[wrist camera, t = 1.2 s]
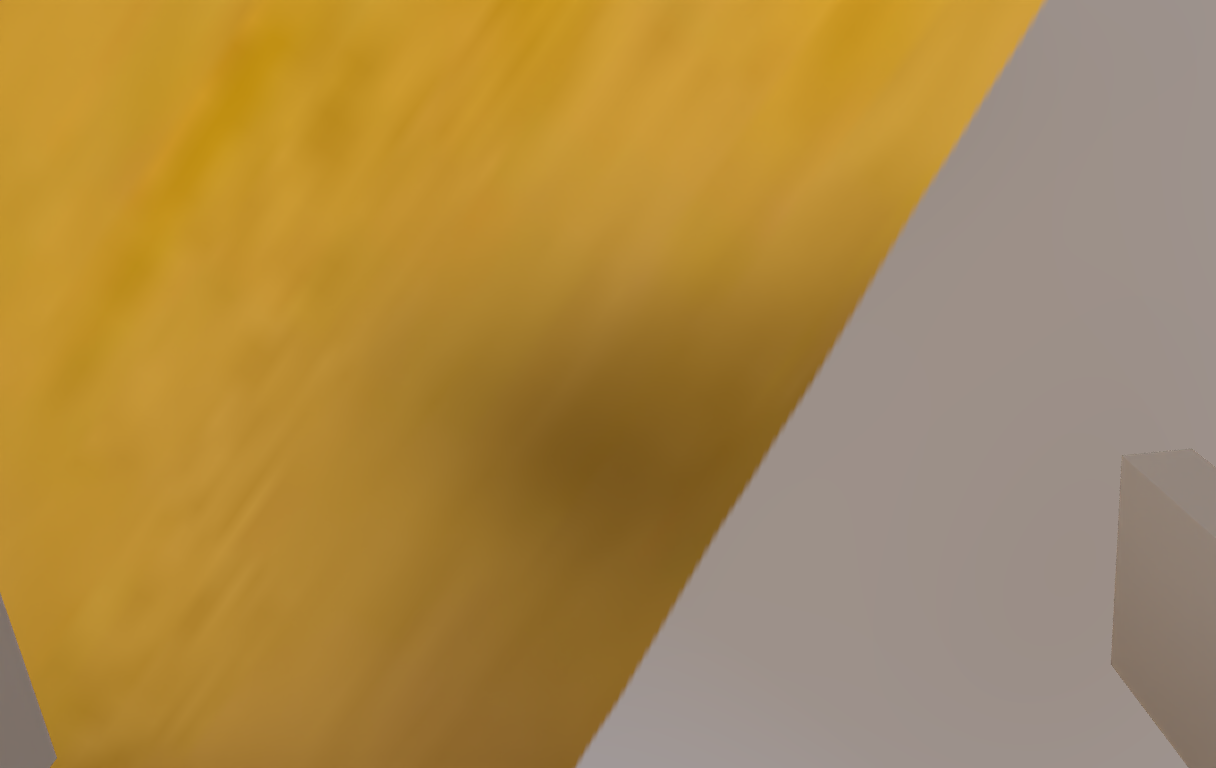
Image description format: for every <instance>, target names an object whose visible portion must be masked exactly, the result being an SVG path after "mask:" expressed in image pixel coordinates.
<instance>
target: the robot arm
mask: <svg viewBox="0 0 1216 768" xmlns="http://www.w3.org/2000/svg"><path fill="white" fill-rule="evenodd" d="M1111 665H1112V666H1113V668H1114V669H1115V670H1116V672H1117V673H1118V674H1119V676H1120V677H1121V678H1122V680H1123V681H1124V682H1125V684H1126V685H1127V686H1128V688H1129V689H1130V690H1131V692H1132V693H1133V694H1134V696H1135V697H1136V698H1137V700H1138V701H1139V702H1140V703H1141V705H1142V706H1143V708H1144V709H1145V710H1146V712H1147V713H1148V714H1149V716H1150V717H1151V718H1152V720H1153V721H1154V722H1155V724H1156V725H1157V726H1158V728H1159V729H1160V730H1161V732H1162V733H1163V734H1164V735H1165V737H1166V738H1167V739H1168V741H1169V742H1170V743H1171V745H1172V746H1173V747H1174V749H1175V750H1176V751H1177V753H1178V754H1179V755H1180V757H1181V758H1182V759H1183V761H1184V762H1185V763H1186V765H1187V766H1188V767H1189V768H1216V467H1215V466H1213V465H1212V464H1211V463H1209V462H1208V461H1207V460H1206V459H1204V458H1203V457H1202V456H1200V455H1199V454H1198V453H1196V452H1195V451H1194V450H1193V449H1184V450H1174V451H1163V452H1152V453H1143V454H1132V455H1122V466H1121V485H1120V502H1119V521H1118V540H1117V559H1116V578H1115V598H1114V617H1113V635H1112V655H1111ZM56 758H57V757H56V754H55V751H54V748H53V745H52V742H51V740H50V737H49V734H48V731H47V728H46V725H45V722H44V719H43V716H42V713H41V710H40V708H39V705H38V702H37V699H36V696H35V693H34V690H33V687H32V684H31V681H30V678H29V676H28V673H27V670H26V667H25V664H24V661H23V658H22V655H21V652H20V649H19V646H18V644H17V641H16V638H15V635H14V632H13V629H12V626H11V623H10V620H9V617H8V614H7V612H6V609H5V606H4V603H3V600H2V597H1V594H0V768H50V766H51V765H52V764H53V762H54V761H55V760H56Z"/></svg>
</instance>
